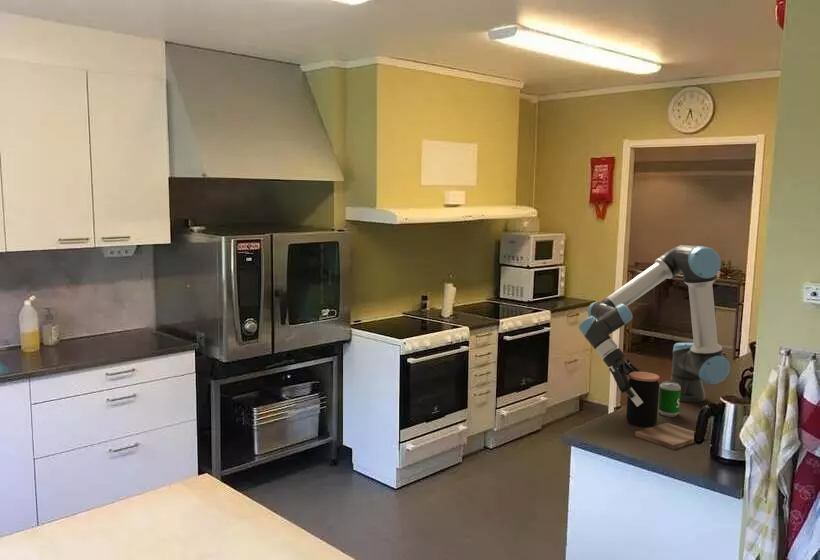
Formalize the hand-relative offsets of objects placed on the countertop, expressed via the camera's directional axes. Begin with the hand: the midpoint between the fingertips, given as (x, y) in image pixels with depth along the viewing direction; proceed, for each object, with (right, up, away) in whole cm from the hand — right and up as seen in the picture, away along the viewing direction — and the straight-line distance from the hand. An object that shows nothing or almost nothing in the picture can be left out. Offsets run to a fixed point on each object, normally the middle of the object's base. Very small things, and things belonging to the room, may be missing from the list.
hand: (647, 400), depth 244 cm
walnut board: (+3, -10, -12) cm, 17 cm away
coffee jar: (-2, -9, +2) cm, 9 cm away
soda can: (+13, -8, +13) cm, 20 cm away
